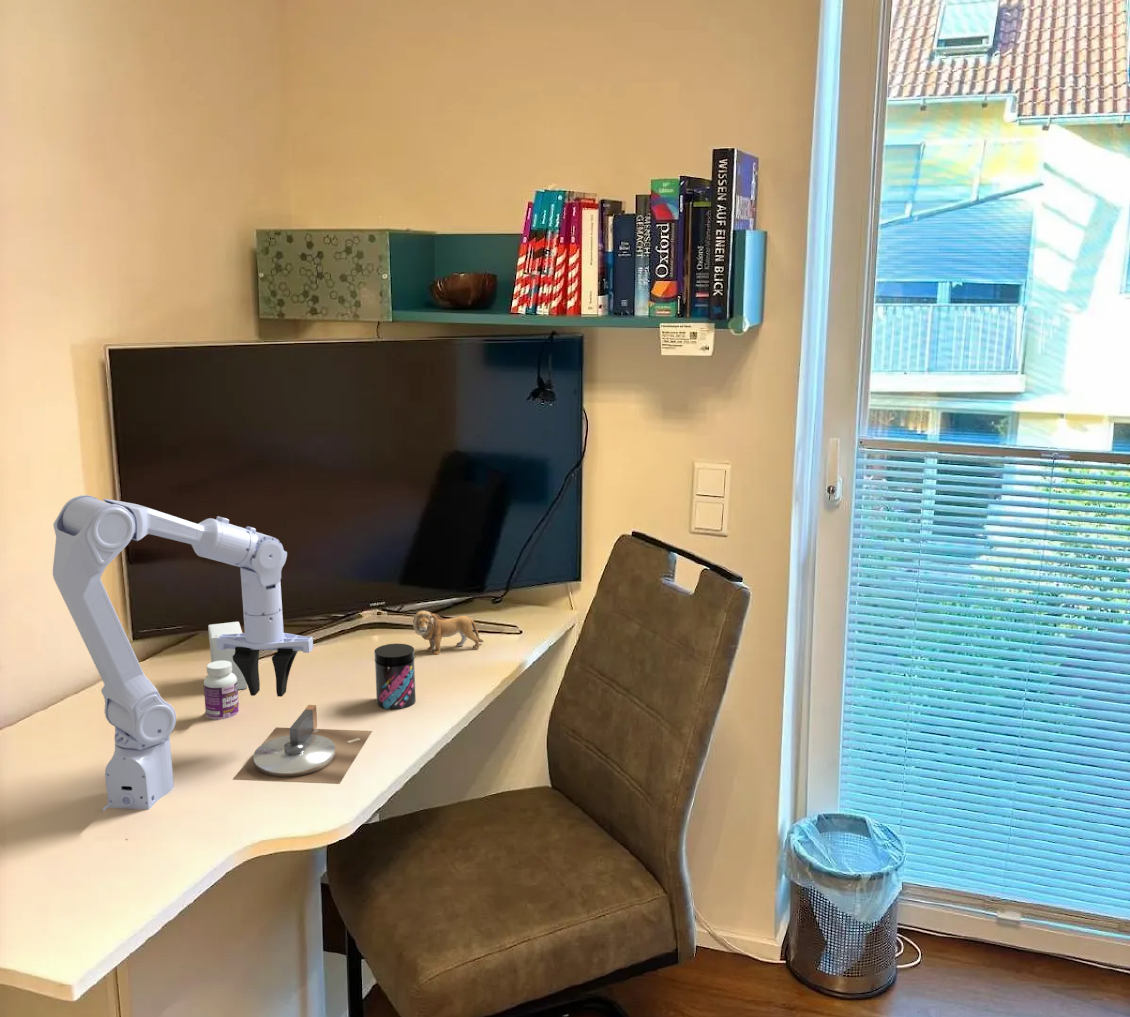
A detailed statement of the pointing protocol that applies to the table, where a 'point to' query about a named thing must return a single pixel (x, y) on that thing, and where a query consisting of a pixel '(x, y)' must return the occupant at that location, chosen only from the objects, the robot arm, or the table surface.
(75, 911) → the table surface
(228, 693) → the pill bottle
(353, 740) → the dial board
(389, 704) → the supplement container
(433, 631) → the lion figurine
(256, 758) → the dial
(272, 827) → the table surface
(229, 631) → the small box
